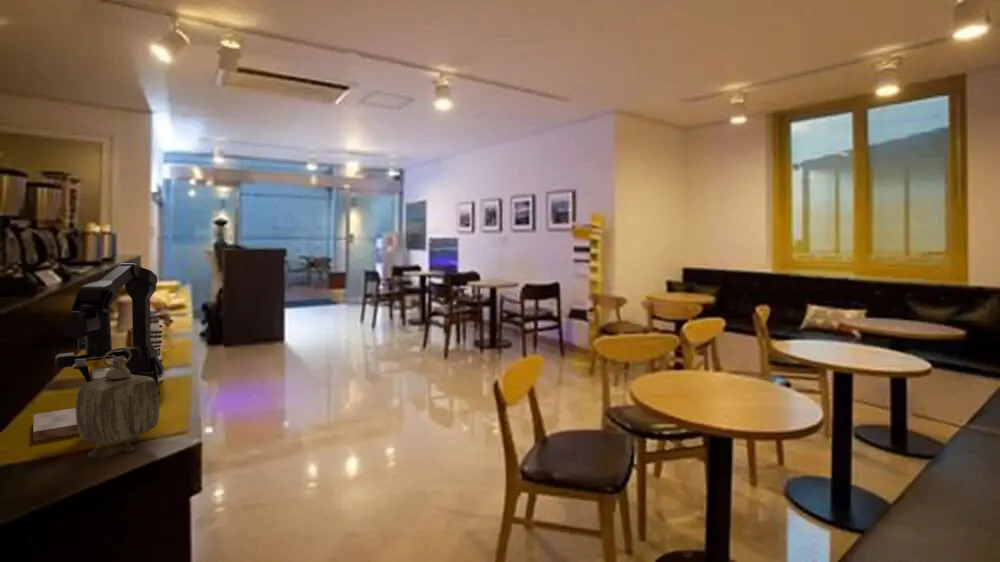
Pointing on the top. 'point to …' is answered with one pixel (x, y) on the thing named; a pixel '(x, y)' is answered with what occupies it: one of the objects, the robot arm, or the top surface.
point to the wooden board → (55, 424)
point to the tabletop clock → (117, 406)
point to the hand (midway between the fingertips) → (101, 387)
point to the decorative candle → (155, 335)
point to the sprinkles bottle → (98, 373)
